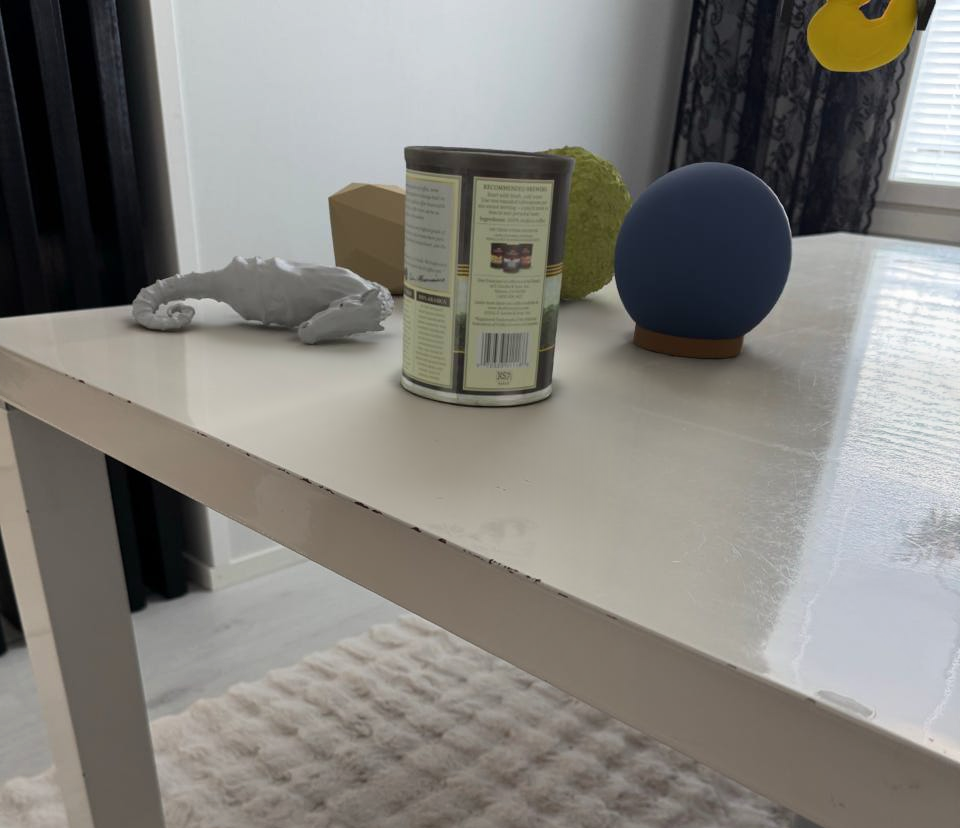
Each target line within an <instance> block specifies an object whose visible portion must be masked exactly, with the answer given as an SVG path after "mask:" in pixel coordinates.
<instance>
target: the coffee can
mask: <svg viewBox="0 0 960 828" xmlns="http://www.w3.org/2000/svg"><path fill="white" fill-rule="evenodd" d="M536 152H537V151H522V150H521V151H520V150H509V149H508V150H506V149H495V148H494V149H492V148H479V147H478V148H477V147H462V146H461V147H460V146H458V147H457V146H440V145H407V146H405V147H404V148H403V157H404V161H405V190H406V195H405V254H404V294H403V313H402V315H403V317H402V366H401V367H402V368H401V371H402V372H401V376H400V384H401V385H402V387H403V388H404V389H406V390H407V391H409V392H411V393H413V394H415V395H417V396H420V397H423V398H427V399H430V400H435V401H439V402H443V403H444V402H445V403H451V404H457V405H463V406H473V407H475V406H476V407H477V406H478V407H510V406H519V405H520V406H521V405H526V404H531V403H535V402H539V401H542V400H544V399H546V398H548V397H549V396H550V395H551V394H552V393H553V384H552V383H553V372H554V363H555V362H554V361H555V351H556V339H557V331H558V319H559V310H560V299H561V298H560V289H561V278H562V268H563V258H564V249H565V238H566V228H567V218H568V207H569V196H570V186H571V177H572V173H573V171H574V168H575V161H576V160H575V159H574V158H573V157H569V156H562V155H555V154H546V153H536Z"/></svg>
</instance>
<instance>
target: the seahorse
mask: <svg viewBox="0 0 960 828" xmlns="http://www.w3.org/2000/svg"><path fill="white" fill-rule="evenodd" d="M187 299H193V300H198V301H201V300H202V299H203V300H204V299H210V300H214V301H216V302H218V303H224V304H226V305H228V306H229V307H230V308H231V309H232V310H233V311H234V312H235V313H236V314H238V315H239V316H240V317H241V318H242V319H243V320H245V321H247V322H249V321H257V322H261V323H263V325H264V326H269V325H270V324H275V325H277V326H283V327H286V328H287V329H292V328H296V327H298V331H297V332H298V338H299V340H300V341H301V342H302V343H304V344H309V345H313V344H315V343H316V342H317V341H320V340H327V339H335V338H344V337H350V336H352V335H357V334H366V333H368V332H372V333H375V332H382V331H384V330H385V326H383V325H382V324H380V323H381V322H383V321H385V320H386V319H387V318H388V317H391V316H392V314H393V310H394V308H395V300H394V299H393V296H392V294H390V292H389V291H388V289H387V288H385V287H384V286H381V285H380V284H378V283H375V282H370V281H369V280H368V281H367V280H365V279H363V278H361V277H360V276H358V275H357V274H355V273H353V272H351V271H350V270H348V269H345V268H340V267H336V266H329V265H324V264H319V263H315V262H309V261H304V260H303V261H302V260H286V259H282V258H281V257H278V256H273V257H272V258H268V259H265V258H264V259H263V258H262V257H261V256H259V255H256V256H254V257H250V258H247V257H241V256H239V255H235V256H234V257H233V258H232V260H231V261H230V263H228V265H226V266H225V267H223V268H220V269H212V270H210V271H206V272H196V271H194V270H193V271H191V272H190V273H186V274H179V273H176V274H174V275H173V276H170V277H167V278H166V277H165V278H164V279H161V280H160V279H156V281H155V283H153V284H151V285H149V286H146V287H142V288H140V291H139V293H138V294H137V295H136V298H135V299H133V301H132V310H131V313H132V316H133V317H134V319H135V321H137V323H138V324H140V325H141V326H143V327H146V328H147V329H149V330H160V331H162V332H165V331H166V330H170V329H175V330H179V329H180V328H181V327H183V326H188V325H190V324H191V323H192V320H193V318H194V316H195V315H196V310H195V308H194V307H193V306H191V305H185V303H183V302H185V301H186V300H187ZM172 300H173V301H177V300H180V301H182V302H178V303H176V304H172V305H169V306H168V307H167V309H166V315H167V317H168V318H165V317H158V316H157V314H156V313H157V311H158V310H159V309H160V305H164V306H167V305H168V303H169V302H170V301H172ZM175 313H179V314H178V315H177V317H176V316H173V315H174V314H175Z"/></svg>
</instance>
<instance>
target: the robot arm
mask: <svg viewBox="0 0 960 828" xmlns="http://www.w3.org/2000/svg"><path fill="white" fill-rule="evenodd" d="M793 1H794V0H781V4H780V13H779V14H780V15H779V21H778V22H779V24H788V23H789V19H790V14H791V11H792V6H793ZM936 3H937V0H918V2H917V6H918V14H917V19H916V29H915V30H916V31H921V32H925V31H926V30H927V27H928V24H929V22H930V20H931V17H932V14H933V11H934V9H935V8H936V7H935V6H936Z"/></svg>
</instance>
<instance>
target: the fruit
mask: <svg viewBox="0 0 960 828" xmlns="http://www.w3.org/2000/svg"><path fill="white" fill-rule="evenodd" d="M535 152H536V153H546V154H555V155H562V156H569V157H573V158H574V159H575V160H576V161H575V168H574V171H573V173H572V177H571V186H570V196H569V207H568V218H567V228H566V238H565V249H564V258H563V268H562V278H561V289H560V299H565V300H566V301H568V300H570V299H574V300H577V301H578V300H581V299H582V298H583V299H584V298H586V297H587V296H588V295H590V294H591V293H595V292H596V293H597V292H598V291H600V290H602V289H603V288H604V287H605V286H608V285H609V284H610V283H611V282H612V281H613V278H614V277H615V275H614V253H615V247H616V241H617V237H618V234H619V231H620V228H621V225H622V223H623V221H624V219H625V217H626V215H627V213H628V211H629V210H630V208H631V206H632V205H633V201H634V199H633V198H632V197H631V196H630V193H629V191H628V187H627V185H626V183H625V182H624V180H623V177H622V176H621V174H620V172H619V171H618V169H617V168H616V167H615V165H614V164H613V162H612V161H610V160H608V159H605V158H603V157H601V155H598V154H595V153H593V152H591V151H589V150H587V149H586V148H584V147H582V146H575V145H573V146H568V145H567V144H566V145H565V146H564V147H562V148H553V149H552V148H549V149H548V150H542V151H535Z"/></svg>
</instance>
